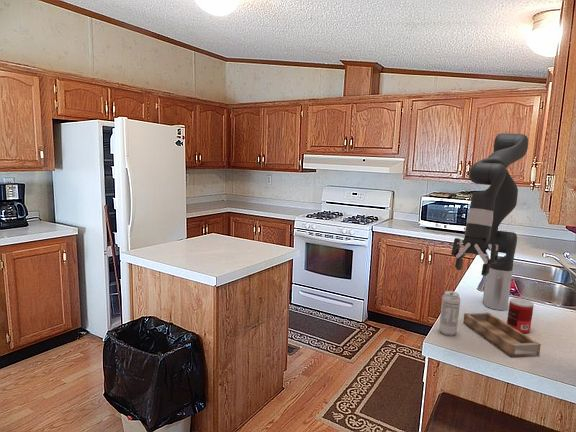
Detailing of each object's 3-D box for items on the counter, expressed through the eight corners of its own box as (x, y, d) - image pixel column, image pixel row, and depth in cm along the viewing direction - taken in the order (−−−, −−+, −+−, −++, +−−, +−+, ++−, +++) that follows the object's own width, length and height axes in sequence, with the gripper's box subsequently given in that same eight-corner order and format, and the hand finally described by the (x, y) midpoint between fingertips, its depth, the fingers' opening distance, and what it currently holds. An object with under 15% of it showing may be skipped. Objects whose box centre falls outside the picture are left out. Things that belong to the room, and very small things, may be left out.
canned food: (532, 329, 150) (536, 302, 149) (526, 336, 145) (530, 307, 143) (510, 323, 156) (513, 296, 154) (503, 328, 150) (507, 301, 148)
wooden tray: (463, 323, 154) (464, 313, 153) (487, 322, 156) (488, 312, 155) (510, 357, 129) (512, 345, 128) (539, 355, 131) (540, 344, 130)
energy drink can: (458, 331, 146) (462, 292, 144) (454, 337, 141) (459, 297, 139) (441, 327, 149) (444, 289, 147) (437, 333, 145) (441, 293, 142)
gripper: (506, 227, 126) (498, 278, 127) (464, 222, 138) (456, 268, 138) (495, 225, 122) (487, 277, 122) (452, 219, 133) (444, 267, 133)
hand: (470, 272), depth 130 cm, fingers open, 8 cm apart
